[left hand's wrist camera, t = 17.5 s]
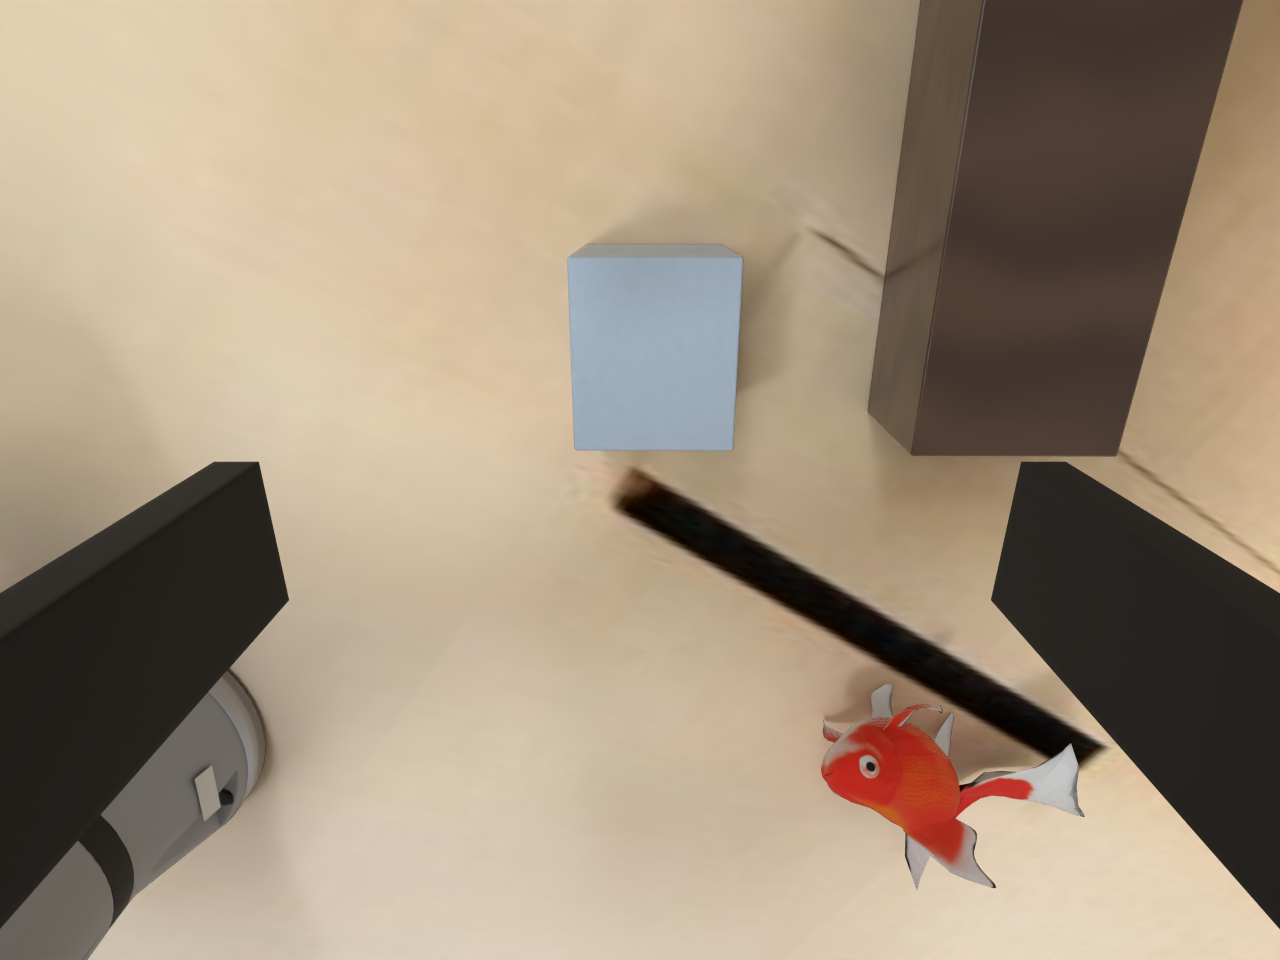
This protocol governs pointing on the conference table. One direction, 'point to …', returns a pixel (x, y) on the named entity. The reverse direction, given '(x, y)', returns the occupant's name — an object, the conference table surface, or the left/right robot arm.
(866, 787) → the fish
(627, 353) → the cap block
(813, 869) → the conference table surface
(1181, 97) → the walnut base
